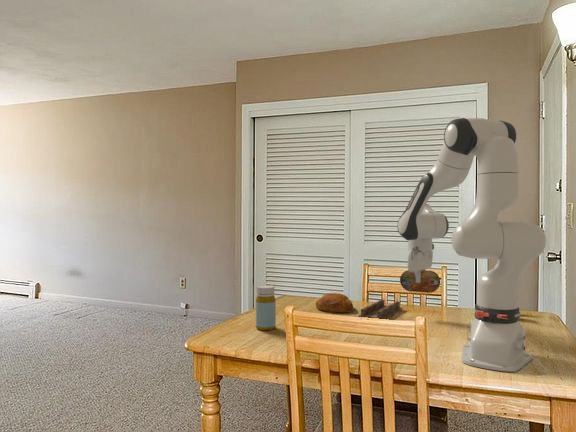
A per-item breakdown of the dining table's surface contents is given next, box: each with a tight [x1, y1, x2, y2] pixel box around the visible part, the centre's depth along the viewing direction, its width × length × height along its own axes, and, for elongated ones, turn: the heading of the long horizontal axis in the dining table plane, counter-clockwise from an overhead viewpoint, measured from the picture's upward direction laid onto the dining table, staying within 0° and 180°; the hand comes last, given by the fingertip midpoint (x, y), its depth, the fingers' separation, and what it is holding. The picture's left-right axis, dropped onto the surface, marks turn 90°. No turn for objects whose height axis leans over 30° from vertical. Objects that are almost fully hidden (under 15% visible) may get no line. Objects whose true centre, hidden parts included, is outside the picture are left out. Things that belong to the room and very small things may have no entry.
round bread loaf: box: [315, 292, 354, 313], centre depth 195 cm, size 14×16×8 cm
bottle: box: [255, 284, 277, 332], centre depth 166 cm, size 7×7×15 cm
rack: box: [357, 299, 403, 320], centre depth 187 cm, size 22×10×4 cm, turn 148°
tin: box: [399, 269, 441, 294], centre depth 180 cm, size 15×3×8 cm, turn 61°
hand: (420, 281), depth 180 cm, fingers closed on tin, 3 cm apart
